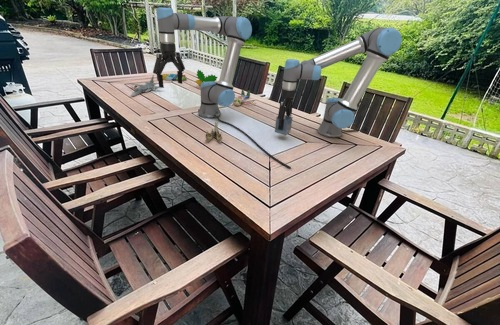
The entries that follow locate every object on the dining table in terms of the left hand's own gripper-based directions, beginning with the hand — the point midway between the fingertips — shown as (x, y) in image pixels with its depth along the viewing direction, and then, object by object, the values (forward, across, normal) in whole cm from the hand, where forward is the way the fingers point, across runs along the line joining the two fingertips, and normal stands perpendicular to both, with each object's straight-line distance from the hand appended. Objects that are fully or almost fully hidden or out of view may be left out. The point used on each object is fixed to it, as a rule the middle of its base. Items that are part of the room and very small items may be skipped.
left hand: (171, 85), depth 143 cm
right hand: (+21, -35, +54) cm, 68 cm away
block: (+24, -35, +54) cm, 69 cm away
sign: (+28, -103, -110) cm, 153 cm away
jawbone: (+28, -7, +24) cm, 38 cm away
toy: (+28, -82, -6) cm, 87 cm away
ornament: (+28, -97, -58) cm, 117 cm away
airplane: (+28, -48, -86) cm, 102 cm away
